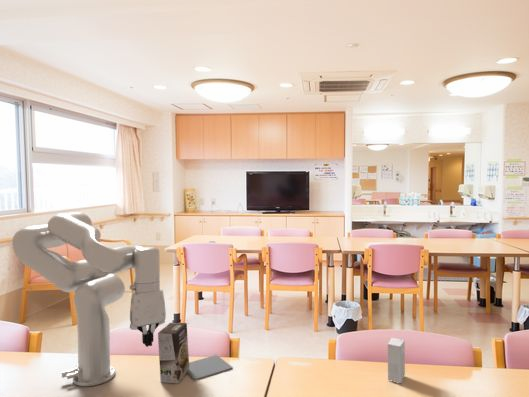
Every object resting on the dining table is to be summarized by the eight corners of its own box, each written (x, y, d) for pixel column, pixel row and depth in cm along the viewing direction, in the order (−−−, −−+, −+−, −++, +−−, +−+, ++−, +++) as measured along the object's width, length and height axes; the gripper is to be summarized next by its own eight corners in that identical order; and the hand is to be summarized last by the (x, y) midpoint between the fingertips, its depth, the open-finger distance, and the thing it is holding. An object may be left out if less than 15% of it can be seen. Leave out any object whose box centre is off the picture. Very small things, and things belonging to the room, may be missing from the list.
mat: (194, 380, 119) (194, 379, 119) (180, 366, 128) (180, 364, 128) (232, 368, 126) (232, 367, 126) (216, 356, 136) (216, 354, 136)
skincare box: (391, 373, 123) (391, 337, 123) (405, 376, 121) (404, 339, 120) (387, 381, 118) (387, 343, 117) (401, 384, 115) (401, 346, 115)
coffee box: (178, 383, 116) (175, 333, 115) (160, 382, 117) (156, 332, 117) (190, 369, 125) (187, 322, 124) (172, 368, 126) (169, 321, 126)
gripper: (125, 293, 108) (126, 355, 109) (174, 285, 117) (175, 343, 117) (119, 287, 115) (120, 346, 115) (166, 281, 123) (167, 335, 123)
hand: (147, 344), depth 116 cm, fingers closed
